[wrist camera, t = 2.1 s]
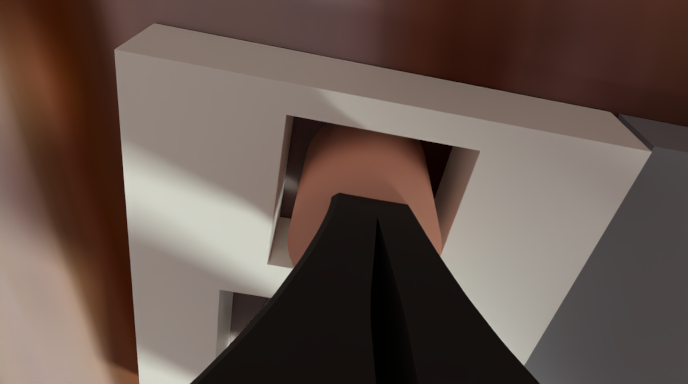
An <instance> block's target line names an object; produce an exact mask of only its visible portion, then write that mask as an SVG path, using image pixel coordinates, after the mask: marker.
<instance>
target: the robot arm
mask: <svg viewBox="0 0 688 384" xmlns="http://www.w3.org/2000/svg"><path fill="white" fill-rule="evenodd" d="M190 384H540V383H539V382H538V381H537V380H536V379H535V378H534V376H533V375H532V374H531V373H530V372H529V371H528V370H527V369H526V368H525V366H524V365H523V364H522V363H521V362H520V361H519V360H518V359H517V358H516V356H515V355H514V354H513V353H512V352H511V351H510V350H509V348H508V347H507V346H506V345H505V344H504V342H503V341H502V340H501V339H500V338H499V337H498V335H497V334H496V333H495V332H494V330H493V329H492V328H491V326H490V325H489V324H488V323H487V321H486V320H485V319H484V317H483V316H482V315H481V314H480V312H479V311H478V310H477V308H476V307H475V306H474V305H473V303H472V302H471V301H470V299H469V298H468V296H467V295H466V294H465V292H464V291H463V289H462V288H461V287H460V285H459V284H458V282H457V281H456V279H455V278H454V276H453V275H452V273H451V272H450V270H449V269H448V267H447V266H446V264H445V263H444V261H443V260H442V258H441V257H440V255H439V254H438V252H437V251H436V249H435V247H434V246H433V244H432V243H431V241H430V239H429V238H428V236H427V234H426V233H425V231H424V230H423V228H422V226H421V225H420V223H419V221H418V220H417V218H416V216H415V215H414V213H413V211H412V210H411V208H410V207H409V205H408V204H402V203H396V202H390V201H384V200H378V199H372V198H367V197H361V196H355V195H350V194H344V193H337V194H336V195H334V196H332V197H331V202H330V205H329V208H328V211H327V213H326V215H325V218H324V220H323V222H322V223H321V225H320V227H319V229H318V231H317V233H316V234H315V236H314V238H313V239H312V241H311V243H310V244H309V246H308V247H307V249H306V251H305V252H304V254H303V256H302V257H301V259H300V260H299V261H298V263H297V264H296V266H295V267H294V268H293V270H292V271H291V272H290V274H289V275H288V276H287V278H286V279H285V280H284V282H283V283H282V284H281V286H280V287H279V289H278V290H277V291H276V292H275V294H274V295H273V296H272V297H271V299H270V300H269V301H268V302H267V304H266V305H265V306H264V307H263V308H262V310H261V311H260V312H259V313H258V314H257V315H256V316H255V318H254V319H253V320H252V321H251V322H250V323H249V324H248V325H247V326H246V328H245V329H244V330H243V331H242V332H241V333H240V334H239V335H238V336H237V337H236V339H235V340H234V341H233V342H232V343H231V344H230V345H229V346H228V347H227V348H226V349H225V350H224V351H223V352H222V353H221V354H220V355H219V356H218V357H217V358H216V359H215V360H214V361H213V362H212V363H211V364H210V365H209V366H208V367H207V368H206V369H205V370H204V371H203V372H202V373H201V374H200V375H199V376H198V377H197V378H195V379H194V380H193V381H192V382H191V383H190Z"/></svg>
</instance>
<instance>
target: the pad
mask: <svg viewBox="0 0 688 384" xmlns="http://www.w3.org/2000/svg"><path fill="white" fill-rule="evenodd" d="M617 119H618V120H619V121H620V122H621V123H622V124H623V125H624V126H625V127H627V128H628V129H629V130H630V131H631V132H632V133H633V134H634V135H635V136H636V137H637V138H638V139H639V140H640V141H641V142H642V143H643V144H644V145H645V146H646V147H647V148H648V149H649V150H650V151H652V153H651V154H650V156H649V158H648V160H647V161H646V163H645V165H644V166H643V168H642V170H641V171H640V173H639V175H638V176H637V178H636V180H635V181H634V183H633V185H632V186H631V188H630V190H629V191H628V193H627V195H626V196H625V198H624V200H623V201H622V203H621V205H620V206H619V208H618V210H617V211H616V213H615V215H614V216H613V218H612V220H611V221H610V223H609V225H608V226H607V228H606V230H605V231H604V233H603V235H602V236H601V238H600V240H599V241H598V243H597V245H596V246H595V248H594V250H593V251H592V253H591V255H590V256H589V258H588V260H587V261H586V263H585V265H584V266H583V268H582V270H581V271H580V273H579V275H578V276H577V278H576V280H575V281H574V283H573V285H572V287H571V288H570V290H569V292H568V293H567V295H566V297H565V298H564V300H563V302H562V303H561V305H560V307H559V308H558V310H557V312H556V313H555V315H554V317H553V318H552V320H551V322H550V323H549V325H548V327H547V328H546V330H545V332H544V333H543V335H542V337H541V338H540V340H539V342H538V343H537V345H536V347H535V348H534V350H533V352H532V353H531V355H530V357H529V358H528V360H527V362H526V363H525V365H524V366H525V368H526V369H527V370H528V371H529V372H530V373H531V374H532V375H533V376H534V378H535V379H536V380H537V381H538V382H539V383H540V384H688V127H685V126H679V125H674V124H669V123H664V122H659V121H654V120H649V119H643V118H638V117H633V116H628V115H623V114H619V116H618V117H617Z"/></svg>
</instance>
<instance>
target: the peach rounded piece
mask: <svg viewBox="0 0 688 384" xmlns="http://www.w3.org/2000/svg"><path fill="white" fill-rule="evenodd" d="M337 193H344V194H350V195H355V196H361V197H367V198H372V199H378V200H384V201H390V202H396V203H402V204H408V205H409V207H410V208H411V210H412V211H413V213H414V215H415V216H416V218H417V220H418V221H419V223H420V225H421V226H422V228H423V230H424V231H425V233H426V234H427V236H428V238H429V239H430V241H431V243H432V244H433V246H434V247H435V249H436V251H437V252H438V254H439V255H440V254H441V247H442V240H441V233H440V228H439V223H438V218H437V213H436V208H435V203H434V198H433V193H432V188H431V183H430V178H429V173H428V168H427V163H426V158H425V153H424V149H423V147H422V144H421V142H420V141H419V139H414V138H409V137H403V136H398V135H392V134H387V133H382V132H376V131H371V130H366V129H360V128H355V127H350V126H344V125H339V124H334V123H327V124H325V125H324V126H323V127H322V128H321V129H320V130H319V131H318V132H317V133H316V135H315V136H314V137H313V139H312V141H311V142H310V145H309V147H308V149H307V154H306V158H305V162H304V167H303V171H302V175H301V179H300V184H299V188H298V192H297V197H296V201H295V205H294V210H293V214H292V218H291V222H290V227H289V231H288V238H287V246H288V252H289V256H290V259H291V261H292V264H293V266H294V267H295V266H296V264H297V263H298V261H299V260H300V259H301V257H302V256H303V254H304V252H305V251H306V249H307V247H308V246H309V244H310V243H311V241H312V239H313V238H314V236H315V234H316V233H317V231H318V229H319V227H320V225H321V223H322V222H323V220H324V218H325V215H326V213H327V211H328V208H329V205H330V202H331V197H332V196H334V195H336V194H337Z"/></svg>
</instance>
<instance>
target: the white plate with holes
mask: <svg viewBox="0 0 688 384" xmlns="http://www.w3.org/2000/svg"><path fill="white" fill-rule="evenodd" d="M114 52H115V66H116V79H117V92H118V105H119V119H120V132H121V145H122V158H123V172H124V185H125V198H126V211H127V225H128V238H129V251H130V264H131V278H132V291H133V304H134V317H135V331H136V344H137V357H138V370H139V384H190V383H191V382H192V381H193V380H194V379H195V378H197V377H198V376H199V375H200V374H201V373H202V372H203V371H204V370H205V369H206V368H207V367H208V366H209V365H210V364H211V363H212V362H213V361H214V360H215V359H216V358H217V357H218V356H219V355H220V354H221V353H222V352H223V351H224V350H225V349H226V348H227V347H228V346H229V341H230V329H231V317H232V304H233V292H237V293H243V294H249V295H255V296H261V297H267V298H271V297H272V296H273V295H274V294H275V292H276V291H277V290H278V289H279V287H280V286H281V284H282V283H283V282H284V280H285V279H286V278H287V276H288V275H289V274H290V272H291V271H292V270H293V268H294V266H293V264H292V261H291V259H290V256H289V252H288V246H287V238H288V231H289V227H290V222H291V218H285V217H280V213H281V205H282V198H283V191H284V183H285V176H286V169H287V161H288V154H289V147H290V139H291V132H292V125H293V117H294V116H296V117H301V118H307V119H312V120H317V121H323V122H328V123H334V124H339V125H344V126H350V127H355V128H360V129H366V130H371V131H376V132H382V133H387V134H392V135H398V136H403V137H409V138H414V139H419V140H425V141H430V142H435V143H441V144H446V145H451V146H453V147H452V149H451V152H450V155H449V158H448V161H447V164H446V167H445V170H444V173H443V176H442V179H441V182H440V184H439V187H438V190H437V193H436V196H435V199H434V203H435V208H436V213H437V218H438V223H439V228H440V233H441V240H442V247H441V254H440V257H441V258H442V260H443V261H444V263H445V264H446V266H447V267H448V269H449V270H450V272H451V273H452V275H453V276H454V278H455V279H456V281H457V282H458V284H459V285H460V287H461V288H462V289H463V291H464V292H465V294H466V295H467V296H468V298H469V299H470V301H471V302H472V303H473V305H474V306H475V307H476V308H477V310H478V311H479V312H480V314H481V315H482V316H483V317H484V319H485V320H486V321H487V323H488V324H489V325H490V326H491V328H492V329H493V330H494V332H495V333H496V334H497V335H498V337H499V338H500V339H501V340H502V341H503V342H504V344H505V345H506V346H507V347H508V348H509V350H510V351H511V352H512V353H513V354H514V355H515V356H516V358H517V359H518V360H519V361H520V362H521V363H522V364H523V365H525V363H526V362H527V360H528V358H529V357H530V355H531V353H532V352H533V350H534V348H535V347H536V345H537V343H538V342H539V340H540V338H541V337H542V335H543V333H544V332H545V330H546V328H547V327H548V325H549V323H550V322H551V320H552V318H553V317H554V315H555V313H556V312H557V310H558V308H559V307H560V305H561V303H562V302H563V300H564V298H565V297H566V295H567V293H568V292H569V290H570V288H571V287H572V285H573V283H574V281H575V280H576V278H577V276H578V275H579V273H580V271H581V270H582V268H583V266H584V265H585V263H586V261H587V260H588V258H589V256H590V255H591V253H592V251H593V250H594V248H595V246H596V245H597V243H598V241H599V240H600V238H601V236H602V235H603V233H604V231H605V230H606V228H607V226H608V225H609V223H610V221H611V220H612V218H613V216H614V215H615V213H616V211H617V210H618V208H619V206H620V205H621V203H622V201H623V200H624V198H625V196H626V195H627V193H628V191H629V190H630V188H631V186H632V185H633V183H634V181H635V180H636V178H637V176H638V175H639V173H640V171H641V170H642V168H643V166H644V165H645V163H646V161H647V160H648V158H649V156H650V154H651V153H652V151H650V150H649V149H648V148H647V147H646V146H645V145H644V144H643V143H642V142H641V141H640V140H639V139H638V138H637V137H636V136H635V135H634V134H633V133H632V132H631V131H630V130H629V129H628V128H627V127H625V126H624V125H623V124H622V123H621V122H620V121H619V120H618V119H617V118H616V117H615V116H614V115H613V114H612V113H611V112H608V111H602V110H597V109H592V108H587V107H582V106H577V105H572V104H566V103H561V102H556V101H551V100H546V99H541V98H536V97H531V96H525V95H520V94H515V93H510V92H505V91H500V90H495V89H489V88H484V87H479V86H474V85H469V84H464V83H459V82H453V81H448V80H443V79H438V78H433V77H428V76H423V75H418V74H412V73H407V72H402V71H397V70H392V69H387V68H382V67H376V66H371V65H366V64H361V63H356V62H351V61H346V60H341V59H335V58H330V57H325V56H320V55H315V54H310V53H305V52H299V51H294V50H289V49H284V48H279V47H274V46H269V45H264V44H258V43H253V42H248V41H243V40H238V39H233V38H228V37H222V36H217V35H212V34H207V33H202V32H197V31H192V30H186V29H181V28H176V27H171V26H166V25H161V24H156V23H154V24H152V25H151V26H149V27H148V28H146V29H145V30H143V31H142V32H140V33H138V34H137V35H135V36H134V37H132V38H131V39H129V40H128V41H126V42H125V43H123V44H122V45H120V46H119V47H117V48H116V49H114Z"/></svg>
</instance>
